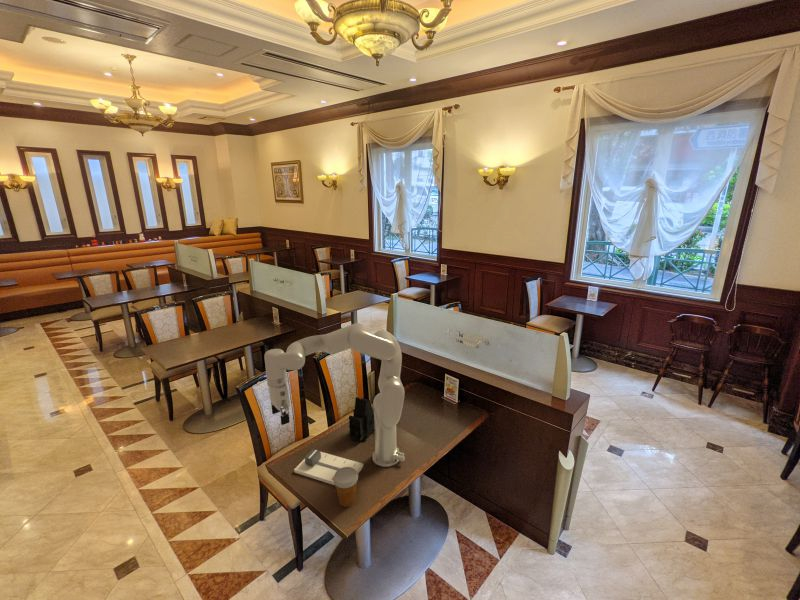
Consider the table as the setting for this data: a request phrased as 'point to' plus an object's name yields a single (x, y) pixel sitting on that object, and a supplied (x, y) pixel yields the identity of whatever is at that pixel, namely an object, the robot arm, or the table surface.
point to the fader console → (326, 467)
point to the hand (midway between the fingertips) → (280, 418)
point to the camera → (361, 420)
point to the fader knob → (313, 457)
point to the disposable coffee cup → (346, 485)
